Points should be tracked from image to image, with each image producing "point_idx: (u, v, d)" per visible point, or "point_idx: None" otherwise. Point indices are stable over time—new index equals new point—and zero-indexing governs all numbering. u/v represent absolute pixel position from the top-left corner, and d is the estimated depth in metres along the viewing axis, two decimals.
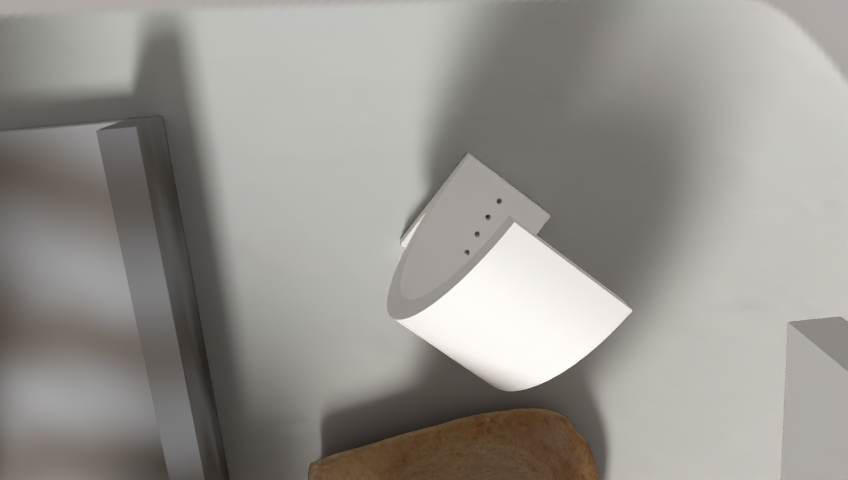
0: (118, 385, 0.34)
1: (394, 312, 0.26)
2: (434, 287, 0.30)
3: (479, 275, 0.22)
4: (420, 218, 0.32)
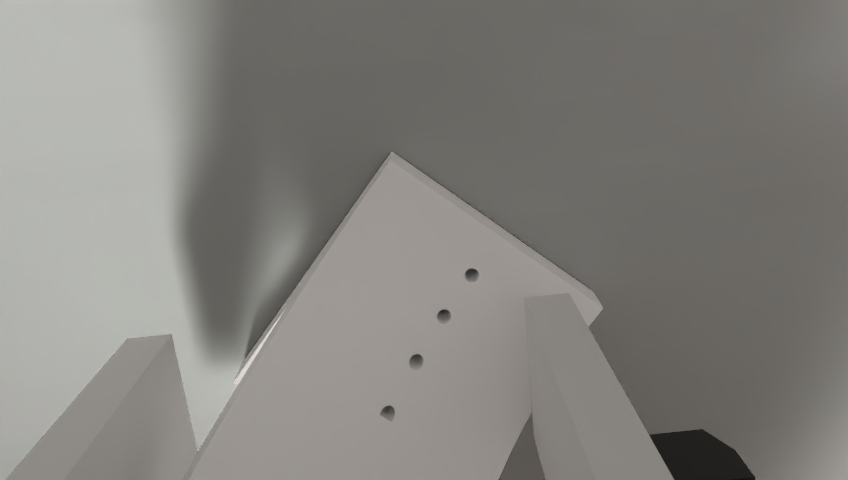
0: None
1: None
2: None
3: None
4: (277, 319, 0.13)
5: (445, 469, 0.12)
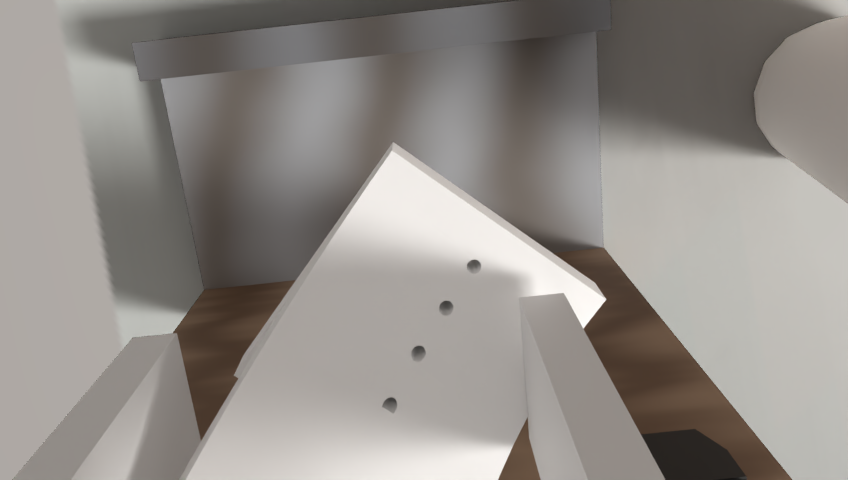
0: (433, 100, 0.33)
1: None
2: None
3: None
4: (278, 311, 0.13)
5: (446, 461, 0.12)
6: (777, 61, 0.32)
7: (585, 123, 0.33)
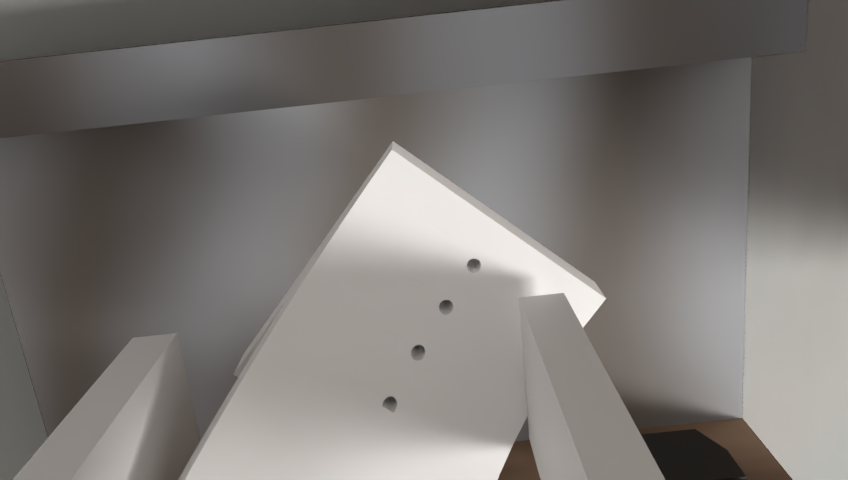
0: (453, 174, 0.18)
1: None
2: None
3: None
4: (278, 310, 0.13)
5: (447, 460, 0.12)
6: None
7: (723, 213, 0.19)
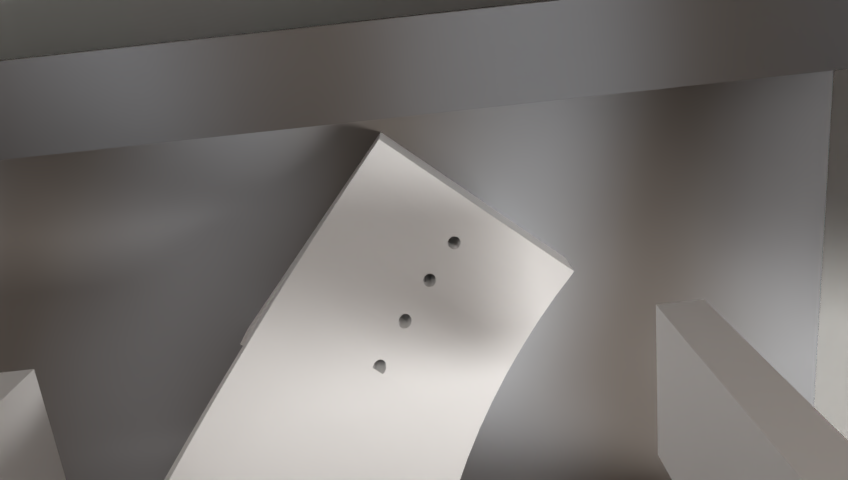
0: None
1: None
2: (280, 477, 0.12)
3: None
4: (279, 285, 0.14)
5: (431, 416, 0.14)
6: None
7: (792, 257, 0.15)
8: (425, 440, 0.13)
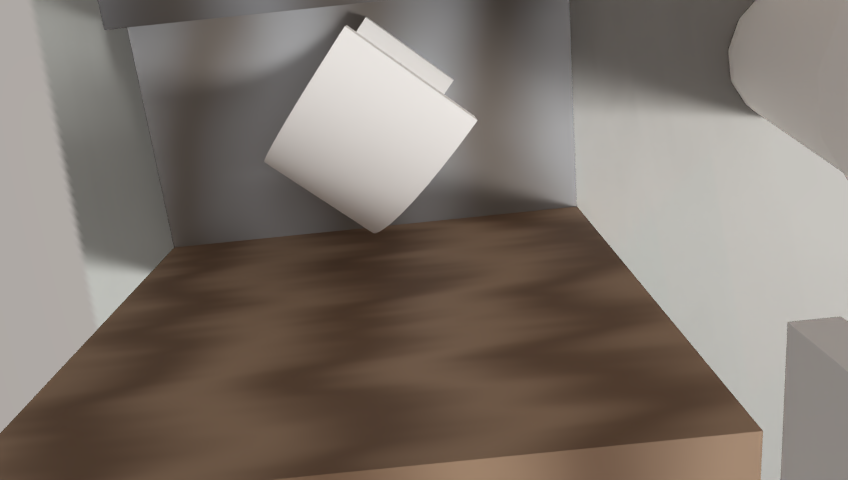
0: None
1: None
2: None
3: (317, 88, 0.21)
4: None
5: None
6: (750, 16, 0.32)
7: (558, 79, 0.33)
8: None
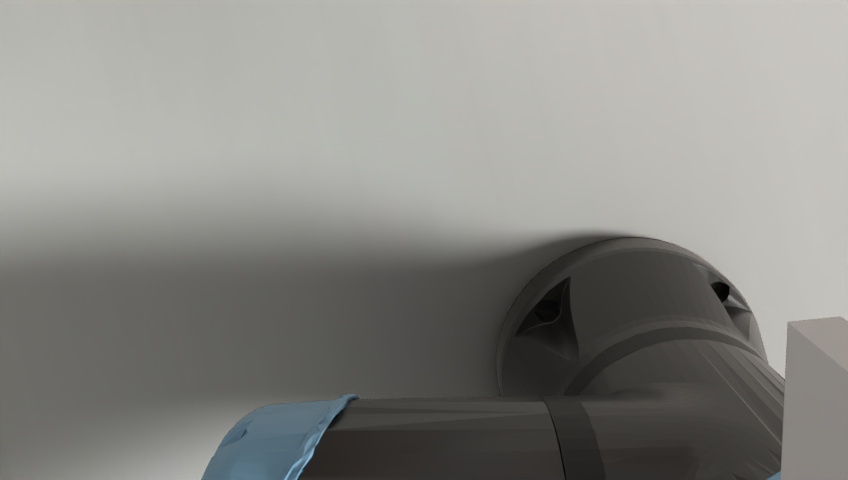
0: None
1: None
2: None
3: None
4: None
5: None
6: None
7: None
8: None
